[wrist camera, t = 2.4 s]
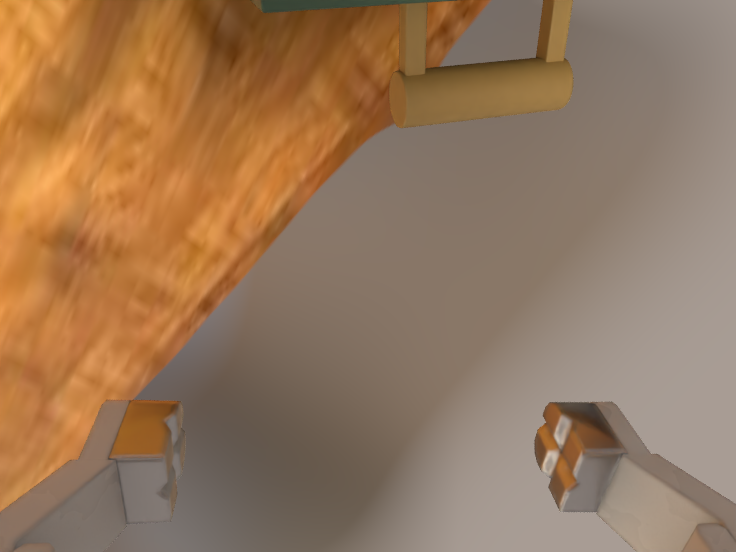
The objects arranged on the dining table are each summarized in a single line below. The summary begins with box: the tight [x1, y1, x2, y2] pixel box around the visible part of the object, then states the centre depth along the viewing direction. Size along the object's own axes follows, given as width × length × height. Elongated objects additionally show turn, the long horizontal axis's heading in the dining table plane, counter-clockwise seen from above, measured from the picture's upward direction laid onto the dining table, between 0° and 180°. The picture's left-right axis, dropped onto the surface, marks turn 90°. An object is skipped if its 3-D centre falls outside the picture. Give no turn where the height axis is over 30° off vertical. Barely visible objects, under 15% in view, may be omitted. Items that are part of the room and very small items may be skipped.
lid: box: [251, 0, 573, 128], centre depth 23 cm, size 14×15×5 cm
